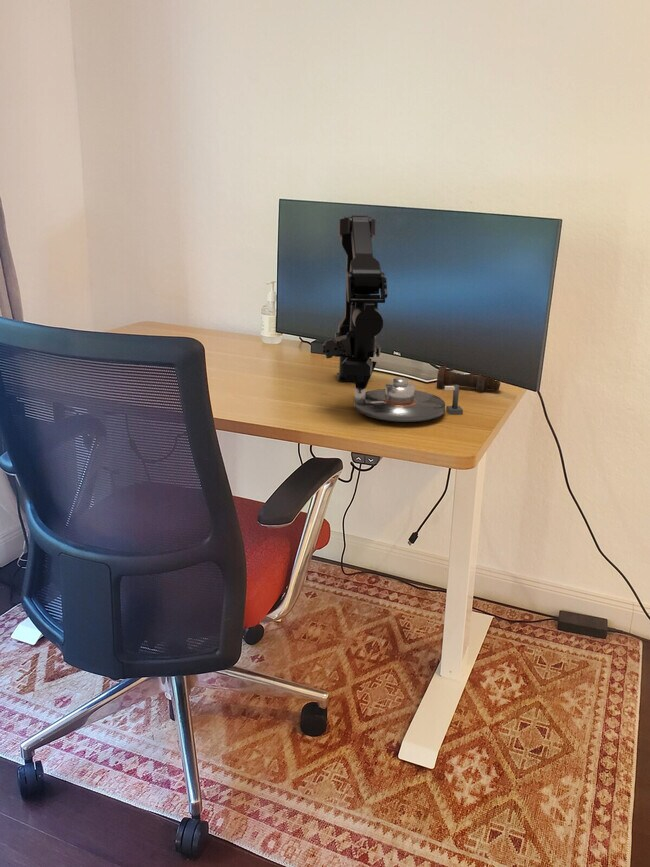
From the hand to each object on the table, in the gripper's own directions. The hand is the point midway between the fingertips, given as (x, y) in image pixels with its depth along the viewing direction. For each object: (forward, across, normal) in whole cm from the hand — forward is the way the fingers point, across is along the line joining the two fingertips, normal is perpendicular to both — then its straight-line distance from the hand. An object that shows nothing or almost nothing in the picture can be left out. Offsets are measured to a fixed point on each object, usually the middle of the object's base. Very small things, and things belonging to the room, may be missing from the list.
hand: (359, 395), depth 167 cm
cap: (+1, 0, +9) cm, 9 cm away
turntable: (+2, 0, +9) cm, 9 cm away
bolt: (+4, -23, +24) cm, 33 cm away
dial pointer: (+3, -4, +21) cm, 21 cm away
